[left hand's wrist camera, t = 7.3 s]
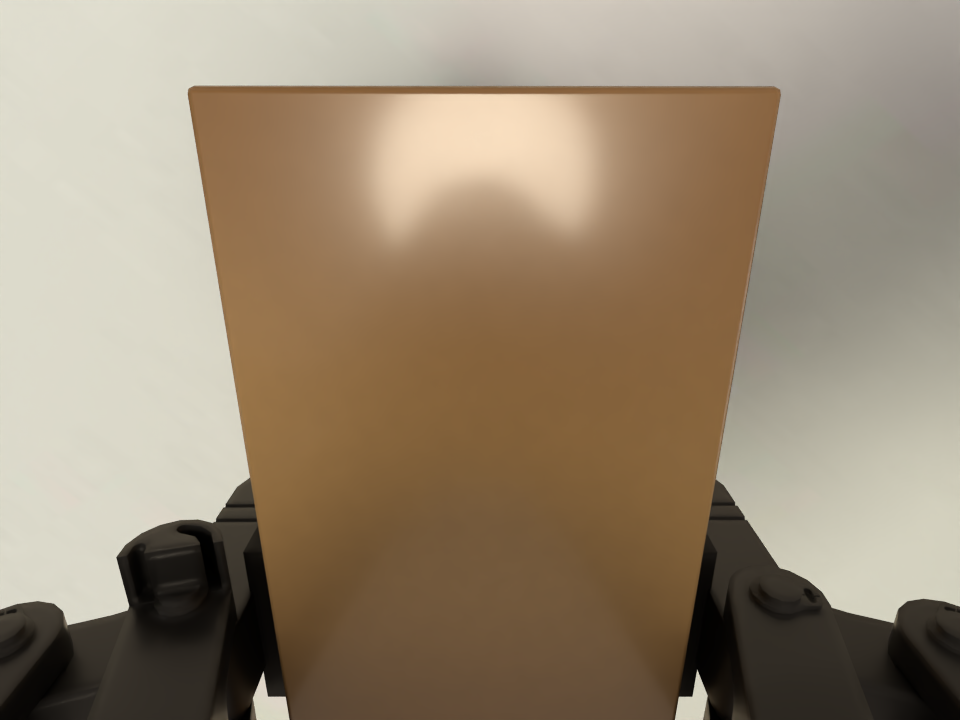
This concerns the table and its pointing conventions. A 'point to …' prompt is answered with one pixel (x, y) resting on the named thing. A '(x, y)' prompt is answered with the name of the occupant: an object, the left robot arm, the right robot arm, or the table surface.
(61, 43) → the table surface
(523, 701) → the bar
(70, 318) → the table surface
